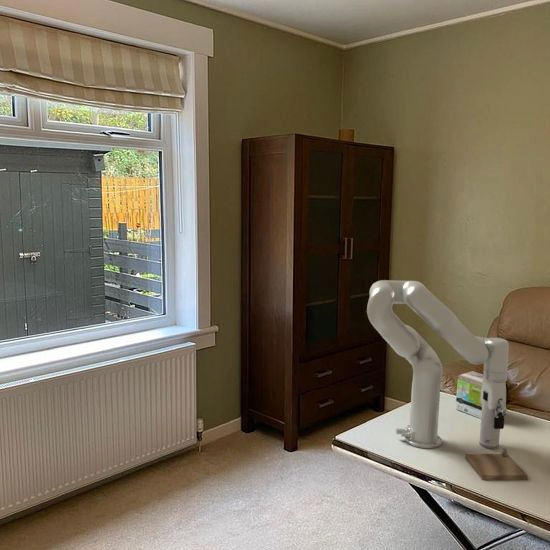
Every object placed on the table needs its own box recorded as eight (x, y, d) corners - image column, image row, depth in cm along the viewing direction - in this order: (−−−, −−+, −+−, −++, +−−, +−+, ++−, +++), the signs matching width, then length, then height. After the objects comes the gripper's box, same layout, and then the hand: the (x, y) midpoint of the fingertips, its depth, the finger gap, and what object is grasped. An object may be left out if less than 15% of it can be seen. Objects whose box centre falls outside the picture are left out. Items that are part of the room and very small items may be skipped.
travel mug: (489, 451, 189) (493, 394, 186) (475, 443, 195) (479, 388, 192) (503, 448, 191) (507, 392, 188) (489, 440, 197) (493, 386, 194)
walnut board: (482, 479, 170) (483, 467, 169) (464, 458, 183) (465, 446, 183) (527, 479, 170) (528, 467, 170) (506, 458, 184) (507, 446, 183)
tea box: (454, 409, 225) (456, 374, 223) (469, 404, 231) (471, 370, 229) (488, 422, 213) (491, 385, 211) (502, 416, 219) (505, 380, 217)
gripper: (474, 366, 197) (471, 413, 200) (495, 383, 180) (492, 433, 183) (495, 366, 198) (492, 412, 200) (518, 382, 181) (514, 433, 183)
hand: (492, 422), depth 192 cm, fingers open, 9 cm apart
